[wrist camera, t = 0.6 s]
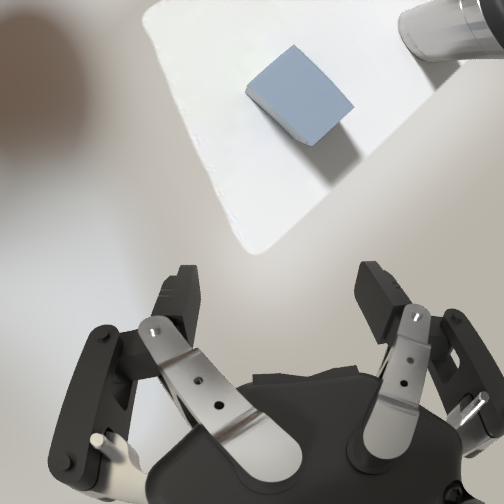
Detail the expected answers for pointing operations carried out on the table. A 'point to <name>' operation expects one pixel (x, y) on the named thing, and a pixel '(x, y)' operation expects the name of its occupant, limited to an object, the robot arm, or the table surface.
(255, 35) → the table surface
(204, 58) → the table surface
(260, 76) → the blue-grey block
